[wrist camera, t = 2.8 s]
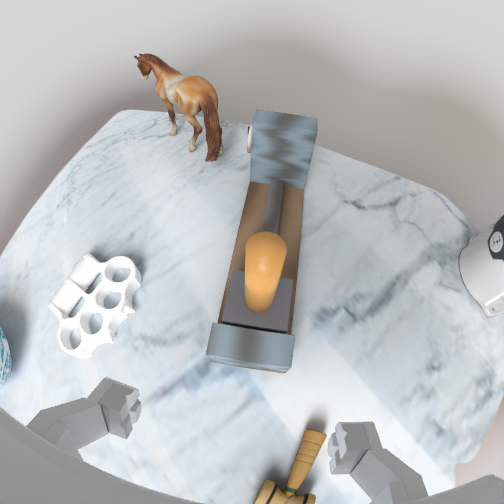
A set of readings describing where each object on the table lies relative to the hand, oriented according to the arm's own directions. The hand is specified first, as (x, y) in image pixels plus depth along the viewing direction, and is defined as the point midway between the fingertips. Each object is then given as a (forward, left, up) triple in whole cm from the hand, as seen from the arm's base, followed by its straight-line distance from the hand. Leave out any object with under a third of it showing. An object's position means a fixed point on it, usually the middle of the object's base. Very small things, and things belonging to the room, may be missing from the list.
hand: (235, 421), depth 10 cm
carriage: (0, -14, -24) cm, 28 cm away
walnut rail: (0, -24, -27) cm, 36 cm away
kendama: (-8, +11, -27) cm, 30 cm away
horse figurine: (+23, -48, -27) cm, 60 cm away
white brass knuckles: (+25, -10, -28) cm, 39 cm away
